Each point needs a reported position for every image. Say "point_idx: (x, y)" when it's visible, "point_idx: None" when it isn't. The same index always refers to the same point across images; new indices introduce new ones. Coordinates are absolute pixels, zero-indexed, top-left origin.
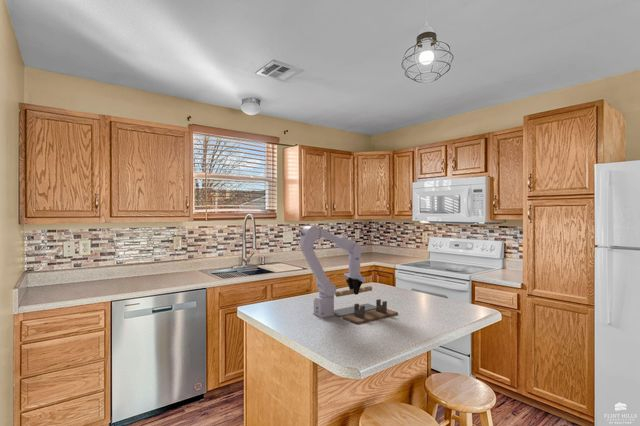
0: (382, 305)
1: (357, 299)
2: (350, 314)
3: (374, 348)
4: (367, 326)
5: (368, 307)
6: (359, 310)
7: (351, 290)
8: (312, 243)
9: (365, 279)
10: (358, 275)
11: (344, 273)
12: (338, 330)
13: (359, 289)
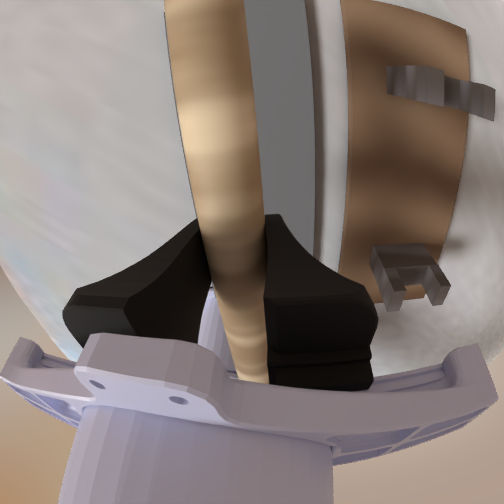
0: (466, 111)
1: (45, 39)
2: (312, 242)
3: (501, 325)
4: (455, 268)
5: (265, 60)
6: (410, 277)
7: (262, 310)
8: None
9: (487, 370)
10: (332, 468)
11: (33, 405)
12: (400, 346)
13: (255, 203)
